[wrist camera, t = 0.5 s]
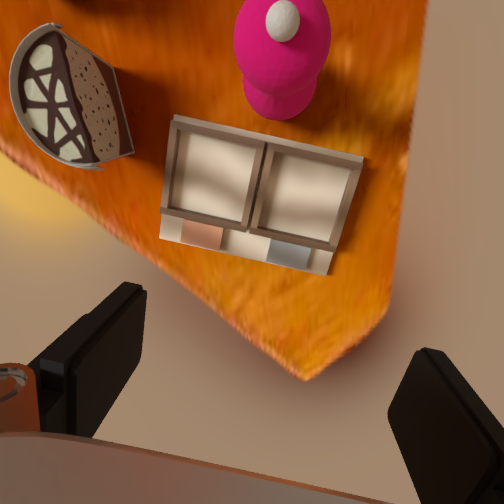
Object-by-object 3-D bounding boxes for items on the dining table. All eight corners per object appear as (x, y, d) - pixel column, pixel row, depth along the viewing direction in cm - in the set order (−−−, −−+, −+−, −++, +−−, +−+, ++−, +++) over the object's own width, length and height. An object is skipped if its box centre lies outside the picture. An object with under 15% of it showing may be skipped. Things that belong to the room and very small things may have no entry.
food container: (59, 62, 35) (-21, 30, 26) (109, 51, 34) (46, 15, 25) (92, 172, 39) (32, 180, 29) (138, 165, 38) (92, 171, 29)
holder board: (176, 114, 36) (169, 112, 34) (361, 156, 36) (367, 157, 34) (161, 236, 41) (154, 241, 38) (324, 273, 41) (327, 280, 38)
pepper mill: (321, 107, 35) (375, 56, 16) (261, 134, 36) (245, 118, 17) (298, 38, 33) (329, -114, 14) (236, 69, 34) (186, -30, 15)
